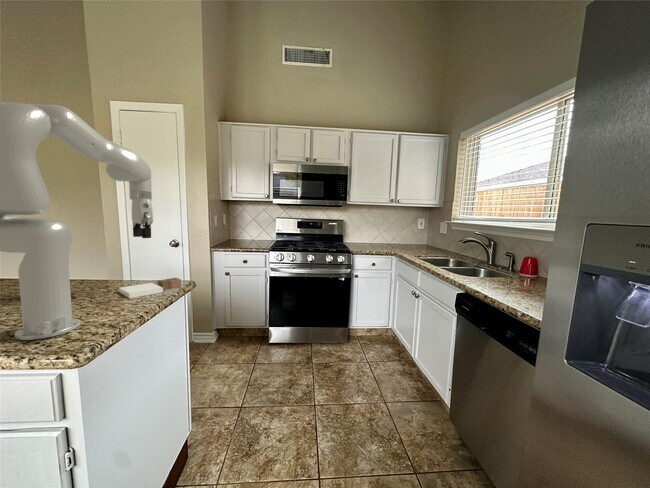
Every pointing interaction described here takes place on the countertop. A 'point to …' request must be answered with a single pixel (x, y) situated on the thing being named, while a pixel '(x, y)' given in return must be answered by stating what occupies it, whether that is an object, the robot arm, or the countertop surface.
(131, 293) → the cutting board
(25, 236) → the robot arm
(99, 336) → the countertop surface
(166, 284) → the two-tone wooden block
